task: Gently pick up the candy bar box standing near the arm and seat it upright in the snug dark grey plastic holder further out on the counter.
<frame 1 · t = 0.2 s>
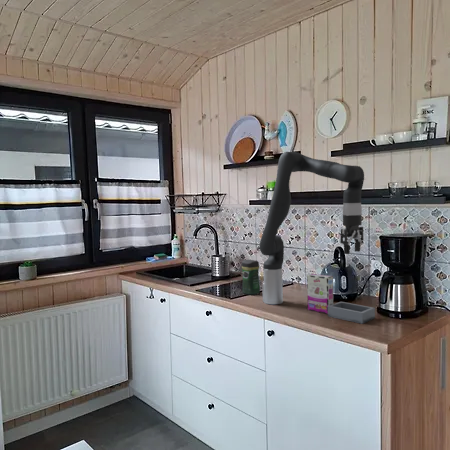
hand: (352, 252, 174), 29 cm above the counter, tool pointing down, fingers open, 8 cm apart
coffee jar: (251, 293, 229), on the counter
holder: (351, 317, 180), on the counter
candy bar box: (320, 311, 191), on the counter
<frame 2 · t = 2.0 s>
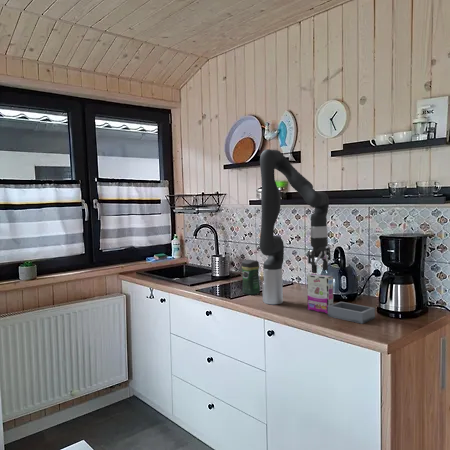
hand: (319, 271, 190), 18 cm above the counter, tool pointing down, fingers open, 8 cm apart
nothing on the counter moved.
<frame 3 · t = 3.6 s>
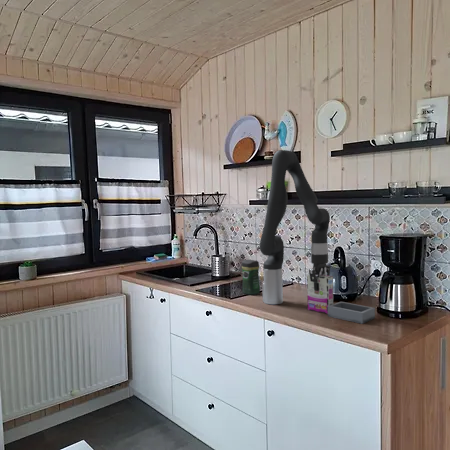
hand: (320, 289, 190), 10 cm above the counter, tool pointing down, fingers closed on candy bar box, 5 cm apart
candy bar box: (320, 311, 191), on the counter, touching gripper
everything else where it was.
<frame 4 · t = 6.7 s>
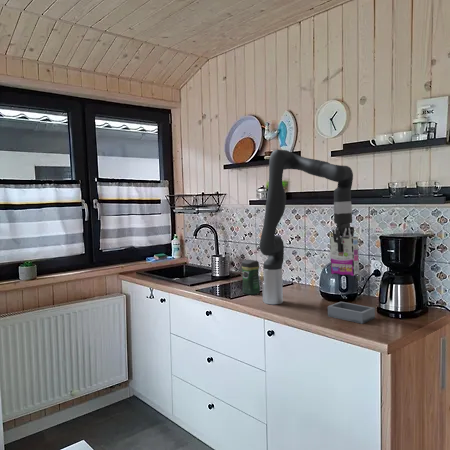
hand: (344, 251, 180), 28 cm above the counter, tool pointing down, fingers closed on candy bar box, 5 cm apart
candy bar box: (345, 274, 180), point 18 cm above the counter, touching gripper
everything else where it was.
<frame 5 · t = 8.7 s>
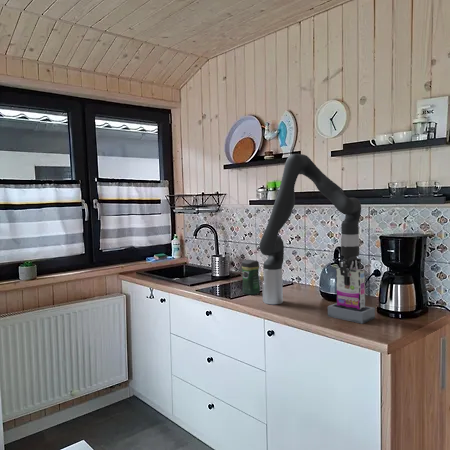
hand: (350, 283, 179), 15 cm above the counter, tool pointing down, fingers closed on candy bar box, 5 cm apart
candy bar box: (350, 307, 179), point 4 cm above the counter, touching gripper
everything else where it was.
when the fingers open (12 cm above the counter, at t = 10.1 s): candy bar box stays where it is, resting on holder.
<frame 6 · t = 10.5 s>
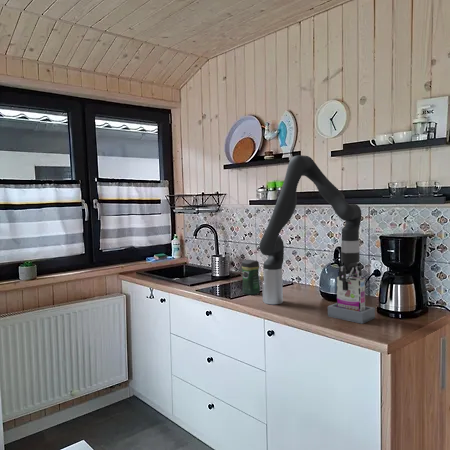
hand: (350, 288, 179), 13 cm above the counter, tool pointing down, fingers open, 8 cm apart
candy bar box: (351, 315, 180), point 1 cm above the counter, touching holder
everything else where it was.
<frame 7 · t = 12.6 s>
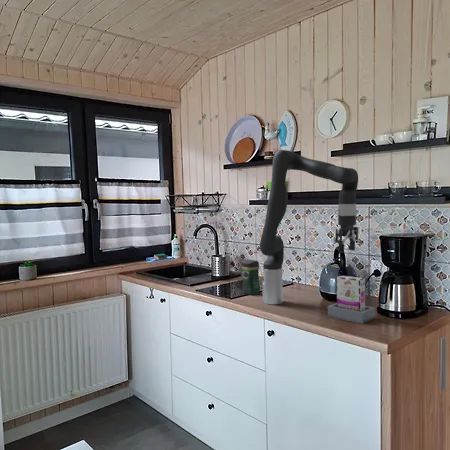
hand: (346, 251, 182), 28 cm above the counter, tool pointing down, fingers open, 8 cm apart
nothing on the counter moved.
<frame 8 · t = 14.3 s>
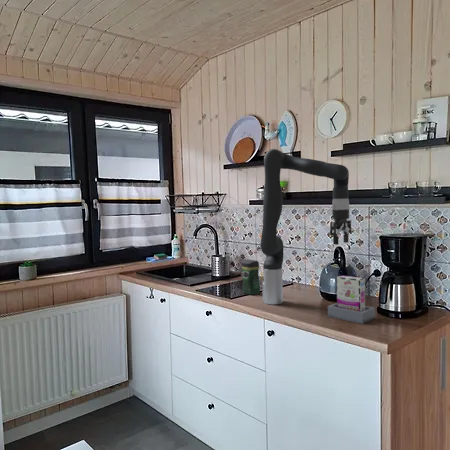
hand: (341, 243, 194), 30 cm above the counter, tool pointing down, fingers open, 8 cm apart
nothing on the counter moved.
at the end: candy bar box 0.3 cm off-centre on the holder, point 0.8 cm above the holder's base; candy bar box tilted 0°; the gripper is holding nothing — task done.
